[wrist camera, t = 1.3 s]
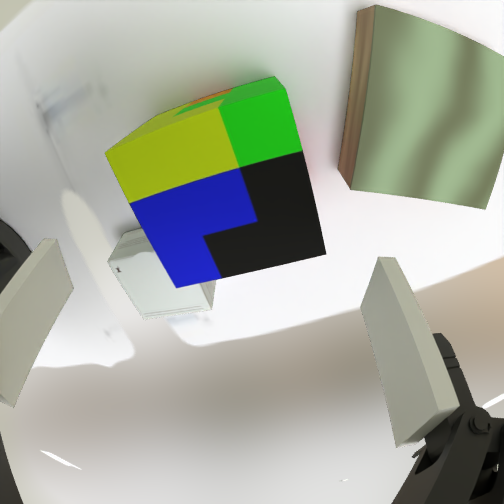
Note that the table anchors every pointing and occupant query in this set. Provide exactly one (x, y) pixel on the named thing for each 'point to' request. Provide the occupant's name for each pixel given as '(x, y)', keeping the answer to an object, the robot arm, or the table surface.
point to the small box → (154, 280)
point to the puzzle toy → (221, 185)
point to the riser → (422, 111)
